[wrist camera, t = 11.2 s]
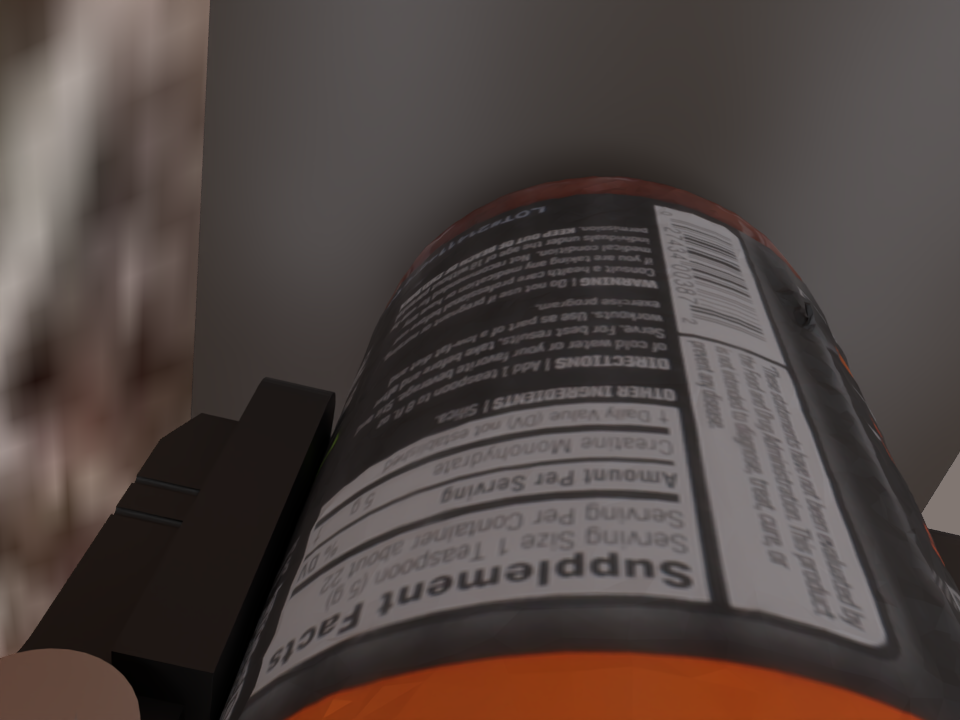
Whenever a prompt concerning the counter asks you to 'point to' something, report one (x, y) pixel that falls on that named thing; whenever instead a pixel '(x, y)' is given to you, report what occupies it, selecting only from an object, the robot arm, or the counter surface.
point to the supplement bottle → (605, 492)
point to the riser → (581, 167)
